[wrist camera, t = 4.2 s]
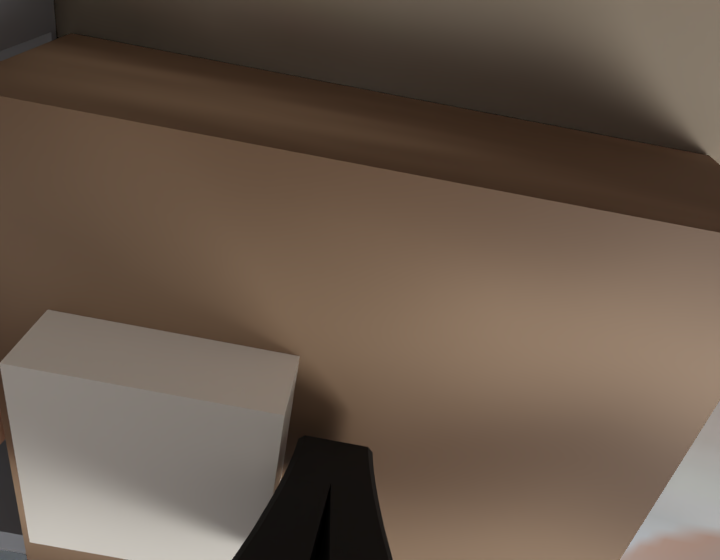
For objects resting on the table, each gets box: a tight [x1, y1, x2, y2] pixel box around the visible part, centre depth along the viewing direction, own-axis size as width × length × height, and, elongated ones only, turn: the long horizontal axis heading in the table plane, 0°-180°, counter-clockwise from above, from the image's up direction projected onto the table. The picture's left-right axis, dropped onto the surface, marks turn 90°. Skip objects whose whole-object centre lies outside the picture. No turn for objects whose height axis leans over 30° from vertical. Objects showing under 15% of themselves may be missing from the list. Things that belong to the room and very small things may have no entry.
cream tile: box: [0, 310, 300, 560], centre depth 12 cm, size 4×4×2 cm
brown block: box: [0, 33, 720, 560], centre depth 14 cm, size 12×13×4 cm
